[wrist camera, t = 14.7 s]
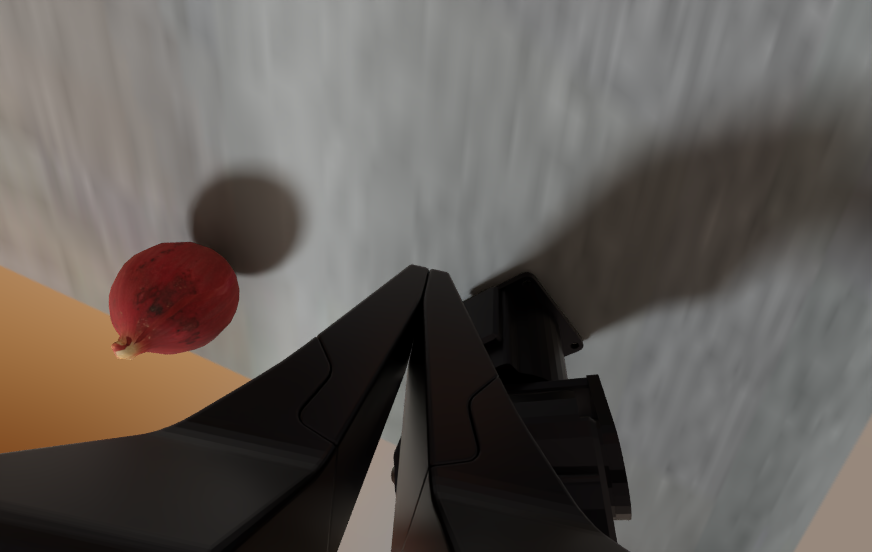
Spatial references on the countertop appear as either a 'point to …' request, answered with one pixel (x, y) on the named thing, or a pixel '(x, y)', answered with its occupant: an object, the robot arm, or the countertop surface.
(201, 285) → the pomegranate
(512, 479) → the robot arm
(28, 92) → the countertop surface
